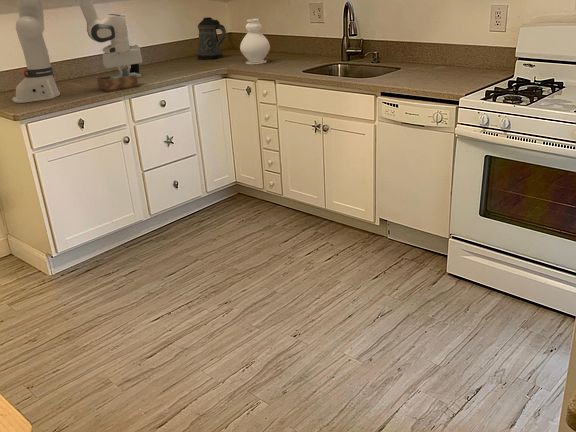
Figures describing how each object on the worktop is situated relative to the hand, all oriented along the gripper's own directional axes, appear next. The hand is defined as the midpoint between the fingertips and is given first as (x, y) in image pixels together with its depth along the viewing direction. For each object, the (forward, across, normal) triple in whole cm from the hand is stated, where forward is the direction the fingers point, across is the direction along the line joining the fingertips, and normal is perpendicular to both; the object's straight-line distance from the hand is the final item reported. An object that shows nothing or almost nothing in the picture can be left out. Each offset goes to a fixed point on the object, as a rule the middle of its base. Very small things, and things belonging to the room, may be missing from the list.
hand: (125, 74), depth 308 cm
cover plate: (+2, 0, 0) cm, 2 cm away
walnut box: (+6, +5, 0) cm, 8 cm away
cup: (+7, -15, -24) cm, 29 cm away
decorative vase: (+7, -85, -4) cm, 86 cm away
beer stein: (+7, -79, -44) cm, 91 cm away
